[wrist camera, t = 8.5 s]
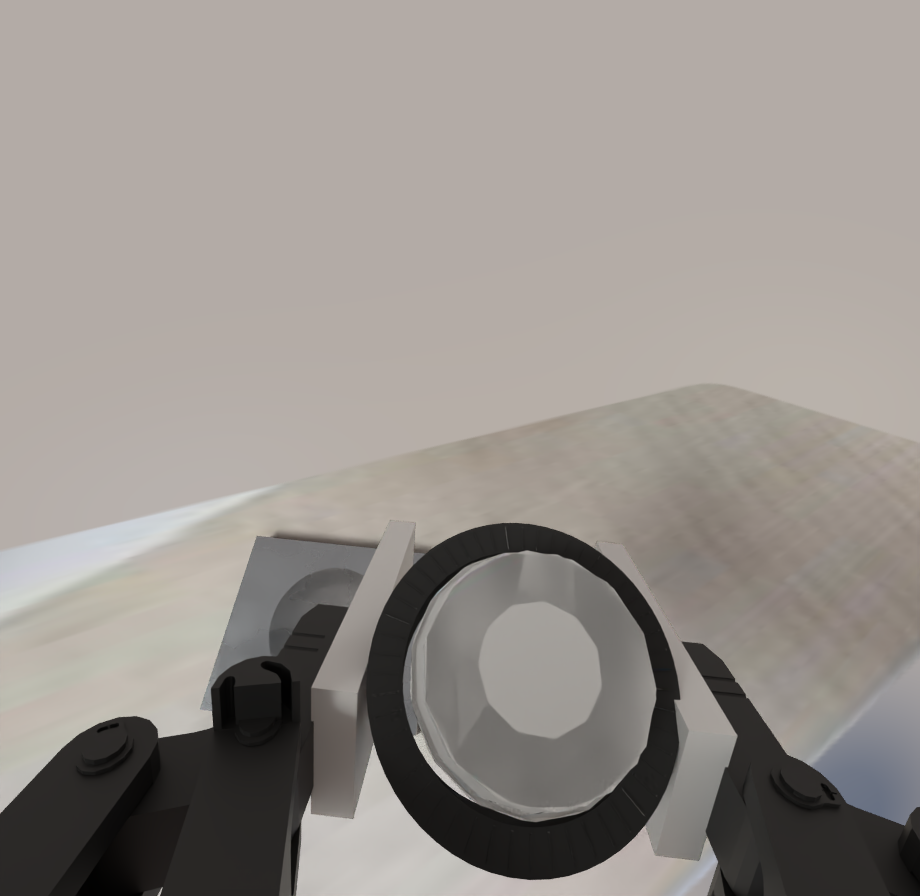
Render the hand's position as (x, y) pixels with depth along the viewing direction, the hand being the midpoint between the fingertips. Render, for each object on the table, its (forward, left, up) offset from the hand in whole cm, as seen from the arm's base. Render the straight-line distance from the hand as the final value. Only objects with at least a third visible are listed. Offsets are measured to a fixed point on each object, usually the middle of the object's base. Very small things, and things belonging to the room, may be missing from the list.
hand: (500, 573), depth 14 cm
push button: (0, -4, -4) cm, 6 cm away
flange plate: (-9, 0, -17) cm, 19 cm away
